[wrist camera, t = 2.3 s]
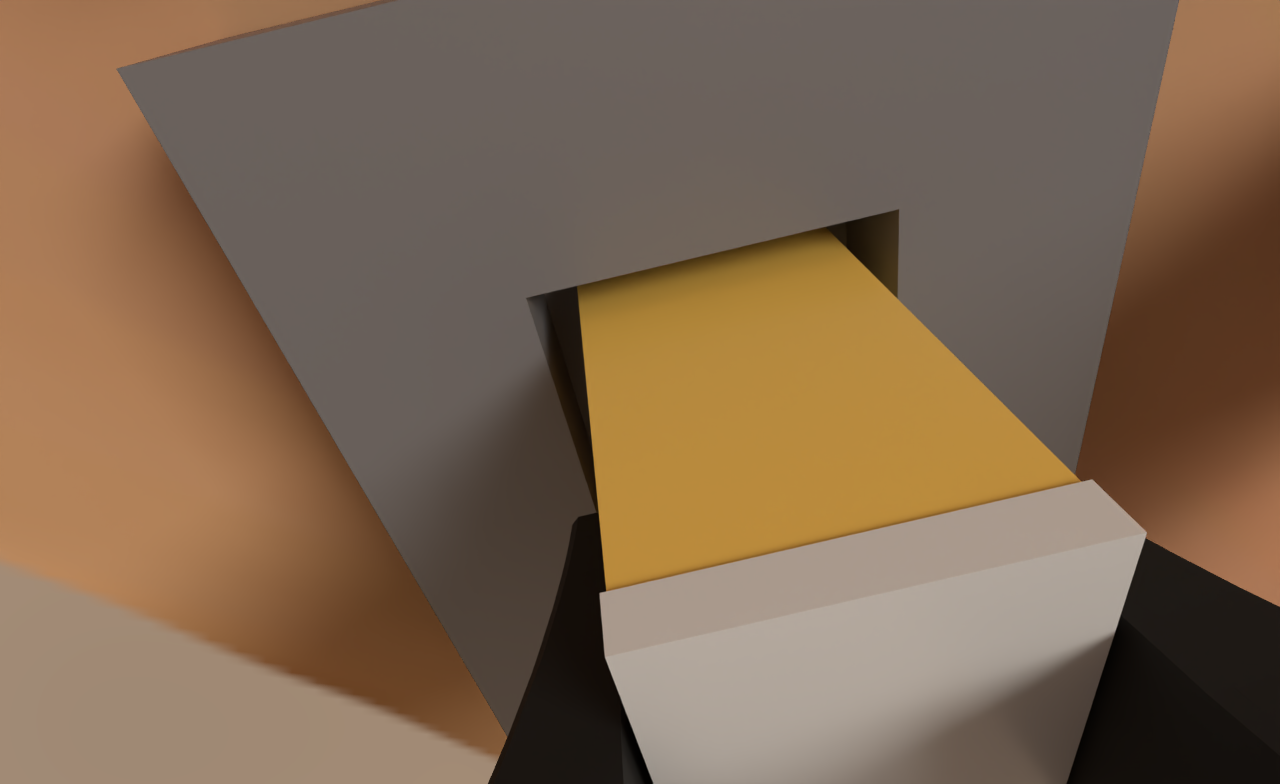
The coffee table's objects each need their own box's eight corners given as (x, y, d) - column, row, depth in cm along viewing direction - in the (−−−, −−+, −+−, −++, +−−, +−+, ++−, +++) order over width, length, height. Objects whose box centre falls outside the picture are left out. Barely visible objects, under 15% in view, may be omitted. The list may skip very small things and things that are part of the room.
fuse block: (1054, -164, 9) (1223, -200, 7) (974, 532, 17) (1042, 623, 15) (220, 39, 10) (116, 69, 7) (516, 638, 17) (512, 745, 15)
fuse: (820, 215, 11) (1147, 532, 5) (833, 473, 14) (1043, 855, 8) (572, 274, 11) (605, 656, 5) (640, 518, 14) (709, 930, 8)
